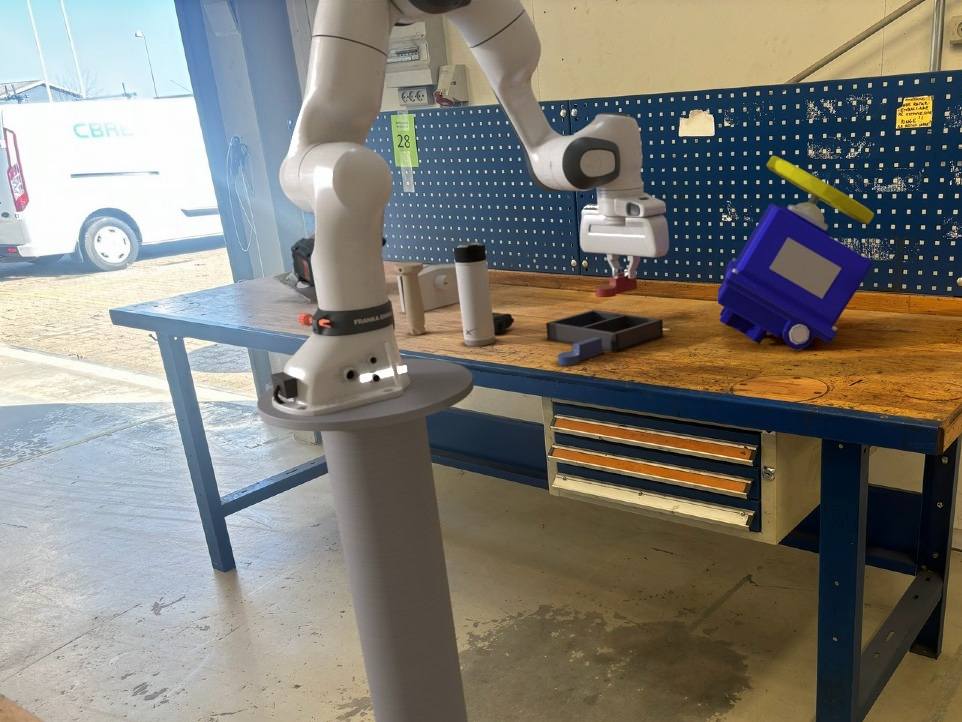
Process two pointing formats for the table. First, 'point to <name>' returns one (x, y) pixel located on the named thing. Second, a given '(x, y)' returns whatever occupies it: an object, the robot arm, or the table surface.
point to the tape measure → (502, 322)
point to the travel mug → (474, 295)
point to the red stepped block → (616, 286)
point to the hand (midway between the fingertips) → (624, 277)
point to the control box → (794, 268)
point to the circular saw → (303, 268)
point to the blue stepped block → (581, 351)
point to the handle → (412, 296)
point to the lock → (435, 286)
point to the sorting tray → (605, 329)
